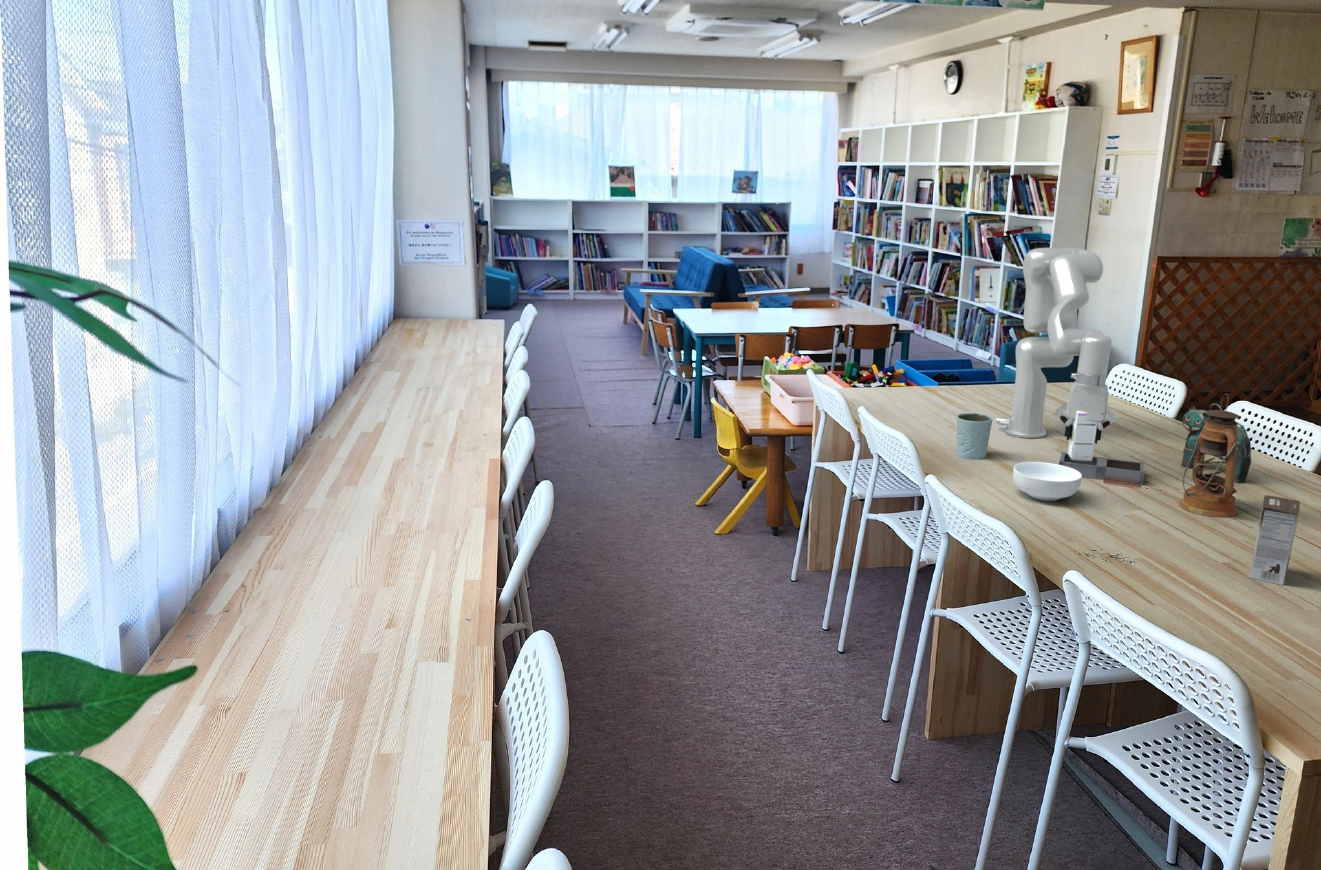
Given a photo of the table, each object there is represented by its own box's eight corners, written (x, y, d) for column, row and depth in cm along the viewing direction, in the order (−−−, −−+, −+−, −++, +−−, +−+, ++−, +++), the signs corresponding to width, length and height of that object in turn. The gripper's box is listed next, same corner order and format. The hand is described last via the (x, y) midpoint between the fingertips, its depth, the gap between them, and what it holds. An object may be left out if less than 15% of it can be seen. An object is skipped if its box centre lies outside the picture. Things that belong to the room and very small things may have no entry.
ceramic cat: (1173, 464, 273) (1184, 398, 268) (1189, 462, 275) (1200, 396, 270) (1236, 485, 255) (1249, 414, 250) (1252, 482, 258) (1266, 412, 252)
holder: (1056, 477, 261) (1058, 465, 260) (1060, 464, 273) (1061, 452, 272) (1142, 488, 252) (1144, 476, 251) (1142, 474, 264) (1144, 462, 263)
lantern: (1253, 520, 229) (1275, 401, 221) (1199, 519, 229) (1220, 401, 221) (1214, 497, 245) (1234, 386, 237) (1165, 496, 246) (1183, 385, 237)
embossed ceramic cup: (990, 453, 283) (994, 415, 280) (986, 462, 274) (990, 422, 271) (955, 449, 287) (959, 411, 284) (950, 457, 278) (954, 418, 275)
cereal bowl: (1072, 511, 234) (1076, 484, 233) (1004, 499, 243) (1007, 473, 241) (1083, 492, 248) (1087, 467, 246) (1018, 481, 257) (1021, 457, 255)
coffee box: (1251, 564, 203) (1264, 494, 199) (1286, 571, 200) (1300, 500, 195) (1248, 578, 196) (1262, 505, 192) (1284, 585, 193) (1299, 512, 188)
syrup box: (1092, 461, 263) (1100, 412, 258) (1070, 460, 264) (1077, 410, 259) (1088, 455, 268) (1095, 406, 264) (1066, 453, 269) (1073, 405, 265)
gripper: (1056, 378, 259) (1047, 440, 265) (1125, 385, 252) (1115, 448, 257) (1058, 373, 266) (1050, 433, 271) (1125, 380, 259) (1115, 441, 264)
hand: (1081, 440), depth 264 cm, fingers closed on syrup box, 6 cm apart
